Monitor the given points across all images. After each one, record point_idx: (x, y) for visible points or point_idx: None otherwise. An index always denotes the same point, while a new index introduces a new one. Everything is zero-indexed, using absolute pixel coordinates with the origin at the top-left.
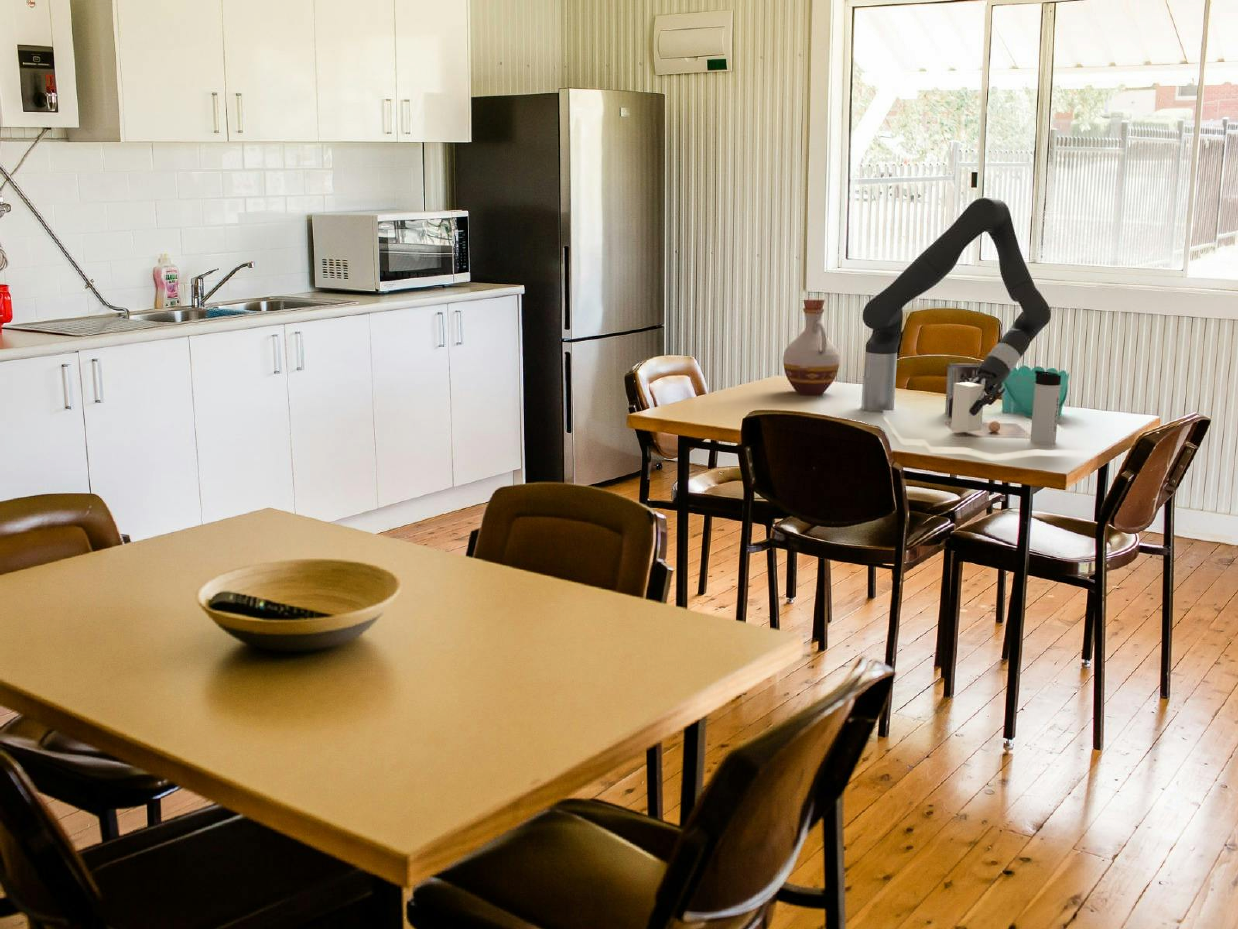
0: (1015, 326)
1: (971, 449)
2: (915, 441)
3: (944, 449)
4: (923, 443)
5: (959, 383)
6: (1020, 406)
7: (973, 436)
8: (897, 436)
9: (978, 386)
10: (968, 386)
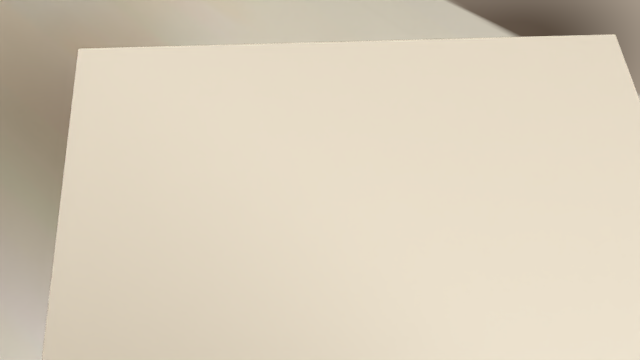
0: None
1: (46, 168)
2: (363, 36)
3: (131, 41)
4: (304, 40)
5: (559, 110)
6: None
7: None
8: (503, 33)
9: (50, 330)
10: (151, 53)
